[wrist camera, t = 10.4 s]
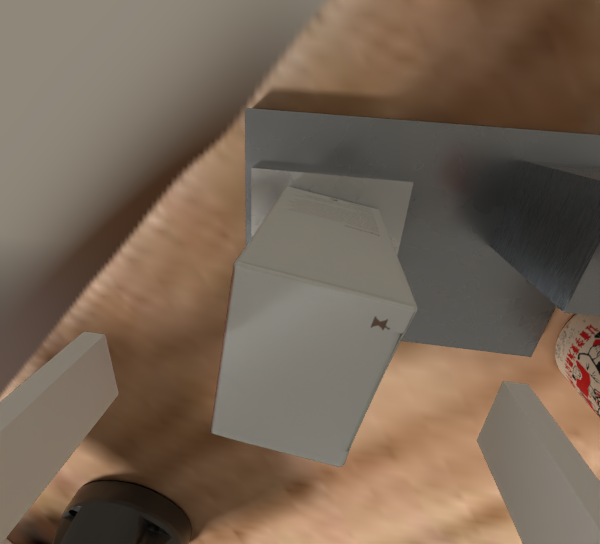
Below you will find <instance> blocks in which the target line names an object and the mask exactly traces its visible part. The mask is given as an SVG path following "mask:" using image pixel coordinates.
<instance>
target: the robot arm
mask: <svg viewBox="0 0 600 544" xmlns="http://www.w3.org/2000/svg"><path fill="white" fill-rule="evenodd" d="M118 395H119V392H118V388H117V384H116V379H115V375H114V370H113V366H112V362H111V357H110V353H109V349H108V344H107V340H106V335H105V334H100V333H91V332H83V333H81V334H80V335H79V336H78V337H77V338H75V339H74V340H73V341H72V342H71V343H69V344H68V345H67V346H66V347H65V348H64V349H62V350H61V351H60V352H59V353H58V354H56V355H55V356H54V357H53V358H52V359H51V360H49V361H48V362H47V363H46V364H45V365H43V366H42V367H41V368H40V369H39V370H37V371H36V372H35V373H34V374H33V375H32V376H30V377H29V378H28V379H27V380H26V381H24V382H23V383H22V384H21V385H20V386H19V387H17V388H16V389H15V390H14V391H13V392H11V393H10V394H9V395H8V396H7V397H5V398H4V399H3V400H2V401H1V402H0V544H2V543H3V541H4V540H5V539H6V538H7V536H8V535H9V534H10V533H11V531H12V530H13V529H14V527H15V526H16V525H17V524H18V522H19V521H20V520H21V519H22V517H23V516H24V515H25V513H26V512H27V511H28V510H29V508H30V507H31V506H32V504H33V503H34V502H35V501H36V499H37V498H38V497H39V496H40V494H41V493H42V492H43V490H44V489H45V488H46V487H47V485H48V484H49V483H50V482H51V480H52V479H53V478H54V476H55V475H56V474H57V473H58V471H59V470H60V469H61V468H62V466H63V465H64V464H65V462H66V461H67V460H68V459H69V457H70V456H71V455H72V454H73V452H74V451H75V450H76V448H77V447H78V446H79V445H80V443H81V442H82V441H83V439H84V438H85V437H86V436H87V434H88V433H89V432H90V431H91V429H92V428H93V427H94V425H95V424H96V423H97V422H98V420H99V419H100V418H101V417H102V415H103V414H104V413H105V411H106V410H107V409H108V408H109V406H110V405H111V404H112V403H113V401H114V400H115V399H116V397H117V396H118ZM477 442H478V444H479V447H480V449H481V451H482V453H483V455H484V458H485V460H486V462H487V464H488V467H489V469H490V471H491V473H492V476H493V478H494V480H495V482H496V485H497V487H498V489H499V491H500V494H501V496H502V498H503V500H504V502H505V505H506V507H507V509H508V511H509V514H510V516H511V518H512V520H513V523H514V525H515V527H516V529H517V532H518V534H519V536H520V538H521V541H522V543H523V544H600V481H599V480H598V478H597V477H596V476H595V474H594V473H593V472H592V470H591V469H590V468H589V466H588V465H587V464H586V462H585V461H584V459H583V458H582V457H581V455H580V454H579V453H578V451H577V450H576V449H575V447H574V446H573V445H572V443H571V442H570V440H569V439H568V438H567V436H566V435H565V434H564V432H563V431H562V430H561V428H560V427H559V426H558V424H557V423H556V421H555V420H554V419H553V417H552V416H551V415H550V413H549V412H548V411H547V409H546V408H545V407H544V405H543V404H542V402H541V401H540V400H539V398H538V397H537V396H536V394H535V393H534V392H533V390H532V389H531V388H530V386H529V385H528V384H522V383H514V382H505V381H503V383H502V385H501V387H500V389H499V392H498V394H497V396H496V398H495V401H494V403H493V405H492V407H491V410H490V412H489V414H488V416H487V418H486V421H485V423H484V425H483V427H482V430H481V432H480V434H479V436H478V439H477ZM191 534H192V528H191V524H190V522H189V520H188V518H187V517H186V515H185V514H184V513H183V512H182V511H181V510H180V509H179V508H178V507H177V506H176V505H175V504H173V503H172V502H171V501H169V500H168V499H166V498H165V497H163V496H161V495H159V494H157V493H155V492H153V491H151V490H149V489H146V488H143V487H140V486H137V485H134V484H130V483H125V482H118V481H98V482H93V483H90V484H87V485H85V486H83V487H82V488H80V489H79V490H78V492H77V493H76V495H75V496H74V498H73V499H72V500H71V502H70V503H69V505H68V506H67V508H66V509H65V511H64V513H63V515H62V518H61V520H60V523H59V526H58V528H57V531H56V534H55V536H54V539H53V542H52V544H188V543H189V541H190V538H191Z"/></svg>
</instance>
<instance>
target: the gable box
mask: <svg viewBox="0 0 600 544" xmlns="http://www.w3.org/2000/svg"><path fill="white" fill-rule="evenodd" d="M2 544H13V543H12V542H11V541H10V540H8V539H7V538H6V539H5V540H4V541H3V543H2Z"/></svg>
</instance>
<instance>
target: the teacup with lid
mask: <svg viewBox="0 0 600 544" xmlns="http://www.w3.org/2000/svg"><path fill="white" fill-rule="evenodd" d="M555 359H556V363H557V366H558V368H559V369H560V371H561V372H562V374H563V375H564V376H565V377H566V378H567V380H568V381H569V382H570V383H571V384H572V386H573V387H574V388H575V389H576V390H577V391H578V393H579V394H580V395H581V396H582V397H583V398H584V400H585V401H586V402H587V403H588V404H589V405H590V407H591V408H592V409H593V410H594V411H595V413H596V414H597V415H598V416H599V417H600V317H599V316H591V315H582V314H575V315H574V316H573V317H572V318H571V319H570V320H569V321H568V322H567V324H566V325H565V326H564V328H563V329H562V331H561V332H560V334H559V336H558V339H557V342H556V345H555Z"/></svg>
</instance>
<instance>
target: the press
mask: <svg viewBox="0 0 600 544" xmlns="http://www.w3.org/2000/svg"><path fill="white" fill-rule="evenodd" d="M245 160H246V246H247V244H248V243H249V241H250V240H251V238H252V237H253V235H254V234H255V232H256V231H257V229H258V228H259V226H260V225H261V223H262V222H263V220H264V219H265V217H266V216H267V214H268V213H269V212H270V210H271V209H272V207H273V206H274V204H275V203H276V201H277V200H278V198H279V197H280V195H281V194H282V193H283V191H284V190H285V188H286V187H288V186H289V187H293V188H297V189H301V190H304V191H308V192H312V193H316V194H320V195H324V196H328V197H332V198H336V199H340V200H344V201H347V202H351V203H355V204H359V205H363V206H367V207H371V208H375V209H379V210H380V213H381V215H382V218H383V221H384V223H385V226H386V228H387V230H388V233H389V236H390V238H391V241H392V243H393V246H394V248H395V251H396V254H397V256H398V259H399V262H400V264H401V267H402V269H403V272H404V274H405V277H406V279H407V282H408V285H409V287H410V290H411V292H412V295H413V298H414V300H415V303H416V305H417V309H418V310H417V312H416V314H415V316H414V318H413V320H412V321H411V323H410V325H409V327H408V329H407V331H406V333H405V334H404V336H403V337H402V339H401V341H407V342H415V343H423V344H431V345H439V346H447V347H455V348H464V349H472V350H480V351H488V352H496V353H504V354H512V355H520V356H528V357H531V356H532V354H533V352H534V350H535V348H536V346H537V344H538V342H539V340H540V338H541V336H542V334H543V332H544V330H545V328H546V326H547V324H548V321H549V319H550V317H551V315H552V313H553V311H554V309H555V307H556V306H557V307H558V308H559V309H561V310H562V311H563V312H564V313H573V314H582V315H591V316H599V317H600V135H595V134H582V133H569V132H556V131H543V130H529V129H516V128H503V127H490V126H477V125H464V124H451V123H438V122H424V121H411V120H398V119H385V118H372V117H359V116H346V115H332V114H319V113H306V112H293V111H280V110H267V109H254V108H245Z"/></svg>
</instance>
